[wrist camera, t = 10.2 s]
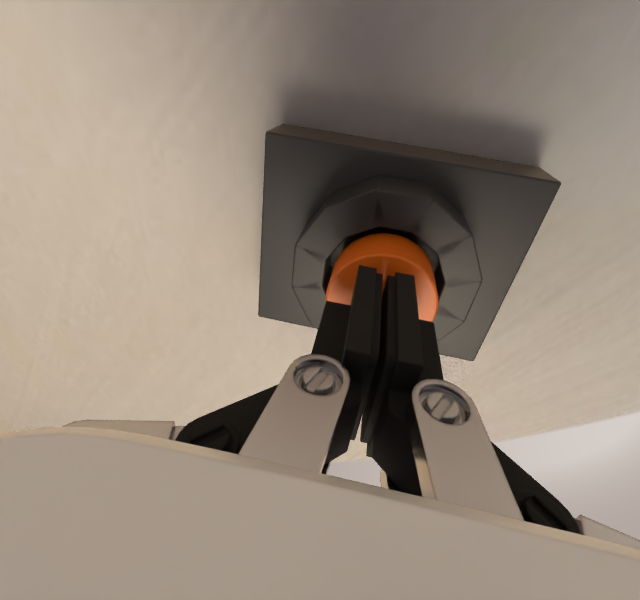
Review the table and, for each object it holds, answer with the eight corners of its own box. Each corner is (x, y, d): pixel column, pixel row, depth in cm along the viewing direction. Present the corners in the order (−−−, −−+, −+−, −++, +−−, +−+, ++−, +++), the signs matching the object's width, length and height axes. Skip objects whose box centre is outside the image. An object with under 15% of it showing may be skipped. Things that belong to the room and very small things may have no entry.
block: (540, 167, 14) (587, 199, 10) (465, 332, 18) (481, 392, 15) (281, 123, 14) (247, 140, 11) (270, 292, 19) (244, 340, 15)
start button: (447, 243, 12) (454, 267, 11) (417, 327, 14) (420, 357, 13) (341, 223, 12) (334, 243, 11) (326, 309, 14) (319, 336, 13)
